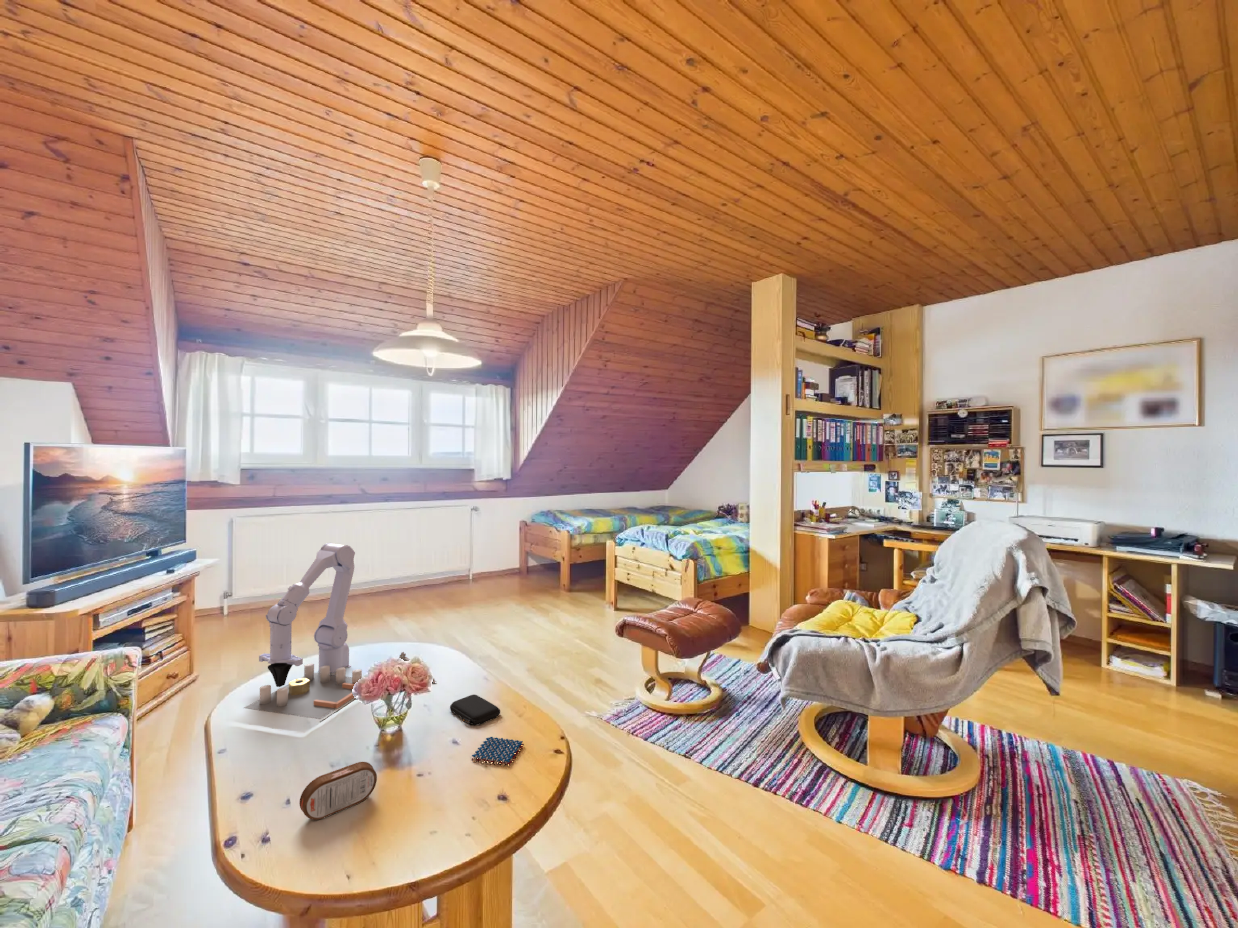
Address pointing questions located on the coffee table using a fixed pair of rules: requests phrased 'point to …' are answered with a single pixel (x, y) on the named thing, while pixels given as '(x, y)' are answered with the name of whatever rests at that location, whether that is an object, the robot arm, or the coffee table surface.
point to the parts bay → (340, 702)
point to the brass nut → (299, 686)
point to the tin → (338, 790)
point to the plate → (308, 693)
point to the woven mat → (498, 750)
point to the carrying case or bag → (474, 709)
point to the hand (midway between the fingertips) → (280, 685)
